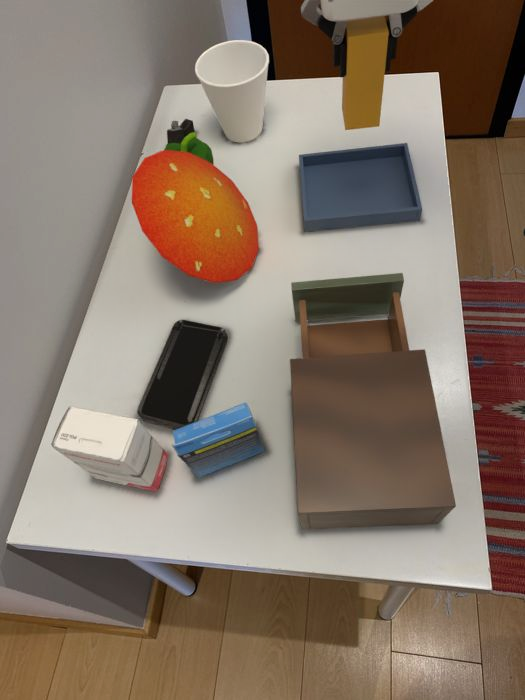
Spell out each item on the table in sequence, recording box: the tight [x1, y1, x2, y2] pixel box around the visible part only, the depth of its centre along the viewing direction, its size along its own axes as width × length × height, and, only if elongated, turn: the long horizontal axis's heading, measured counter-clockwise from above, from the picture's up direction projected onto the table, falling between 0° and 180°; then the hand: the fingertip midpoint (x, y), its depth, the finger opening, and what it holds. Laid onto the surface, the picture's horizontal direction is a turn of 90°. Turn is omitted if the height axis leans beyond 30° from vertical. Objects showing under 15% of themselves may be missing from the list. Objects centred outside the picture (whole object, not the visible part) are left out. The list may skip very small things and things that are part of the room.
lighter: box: [166, 118, 196, 144], centre depth 89 cm, size 8×2×5 cm
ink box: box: [50, 406, 169, 492], centre depth 58 cm, size 9×5×12 cm, turn 77°
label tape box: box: [170, 401, 266, 478], centre depth 57 cm, size 9×4×12 cm, turn 110°
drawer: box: [290, 272, 410, 358], centre depth 62 cm, size 17×14×7 cm
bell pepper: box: [163, 131, 215, 166], centre depth 80 cm, size 8×8×10 cm
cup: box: [194, 39, 270, 144], centre depth 85 cm, size 12×12×12 cm
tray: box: [298, 142, 423, 233], centre depth 79 cm, size 17×14×2 cm
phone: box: [136, 319, 229, 430], centre depth 68 cm, size 8×1×15 cm
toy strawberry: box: [131, 149, 260, 284], centre depth 72 cm, size 15×21×15 cm
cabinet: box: [289, 348, 457, 531], centre depth 56 cm, size 17×15×9 cm
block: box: [341, 16, 389, 131], centre depth 62 cm, size 4×4×12 cm
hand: (363, 66), depth 61 cm, fingers closed on block, 4 cm apart
